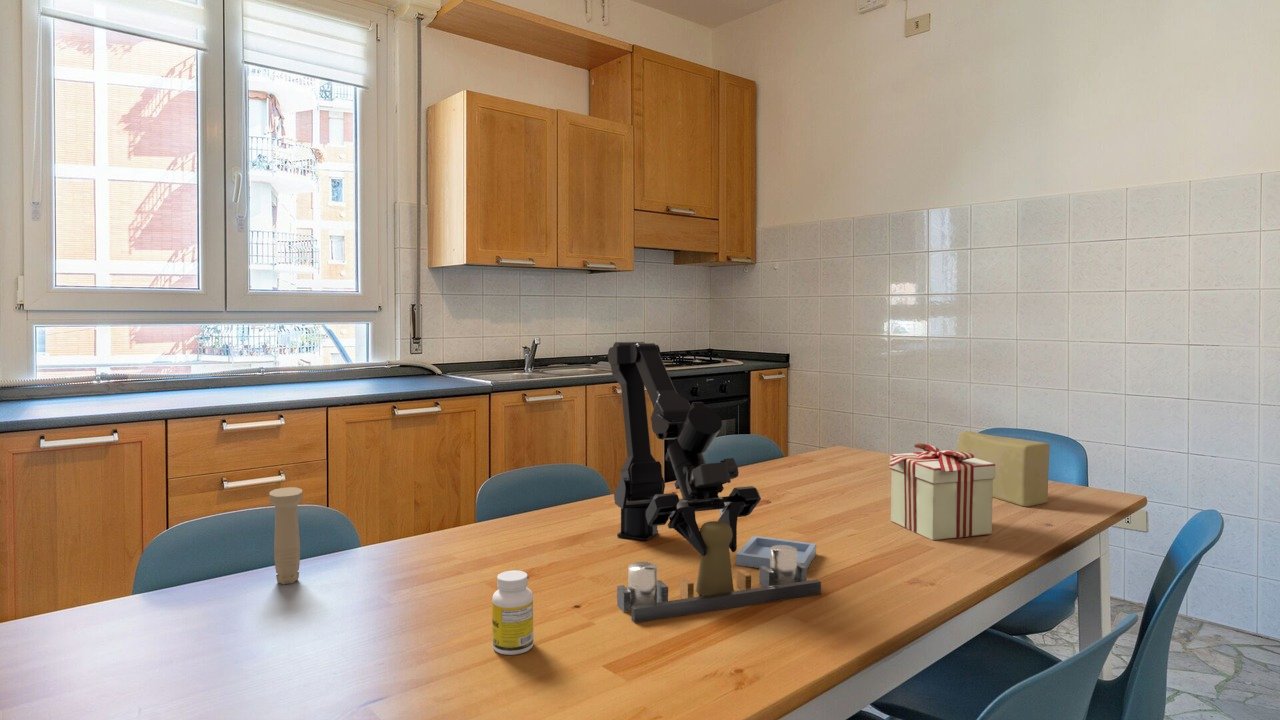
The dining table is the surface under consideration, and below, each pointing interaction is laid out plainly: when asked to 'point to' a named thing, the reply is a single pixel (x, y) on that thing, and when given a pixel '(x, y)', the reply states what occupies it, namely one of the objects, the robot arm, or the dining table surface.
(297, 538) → the handle
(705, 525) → the olive knobbed post
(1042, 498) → the cheese
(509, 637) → the supplement bottle
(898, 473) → the gift box
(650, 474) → the robot arm
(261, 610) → the dining table surface
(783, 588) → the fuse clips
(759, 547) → the tray
